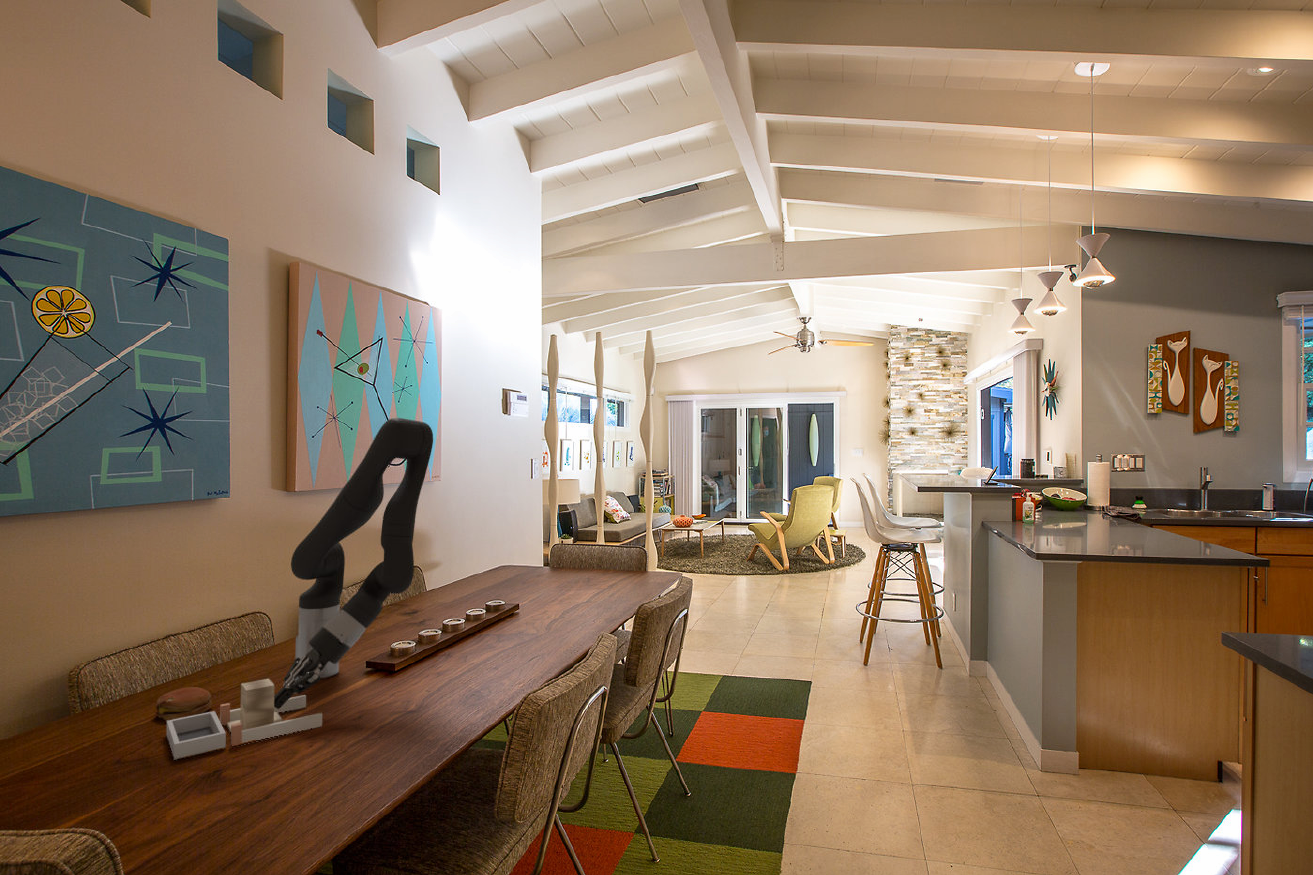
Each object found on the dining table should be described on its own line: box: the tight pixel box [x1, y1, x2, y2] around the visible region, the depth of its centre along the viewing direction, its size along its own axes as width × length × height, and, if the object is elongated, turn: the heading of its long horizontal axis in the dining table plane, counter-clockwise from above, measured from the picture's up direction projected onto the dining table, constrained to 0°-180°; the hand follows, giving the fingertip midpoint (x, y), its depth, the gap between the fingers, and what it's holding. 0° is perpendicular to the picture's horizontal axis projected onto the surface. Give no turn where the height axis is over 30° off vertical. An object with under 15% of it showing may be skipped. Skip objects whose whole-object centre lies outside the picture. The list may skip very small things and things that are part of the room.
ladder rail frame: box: [219, 694, 323, 746], centre depth 142 cm, size 16×14×4 cm
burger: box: [154, 686, 213, 722], centre depth 149 cm, size 10×9×5 cm
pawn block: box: [226, 678, 284, 733], centre depth 141 cm, size 9×9×9 cm
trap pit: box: [166, 710, 227, 761], centre depth 134 cm, size 8×14×3 cm, turn 40°
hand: (273, 705), depth 143 cm, fingers closed
